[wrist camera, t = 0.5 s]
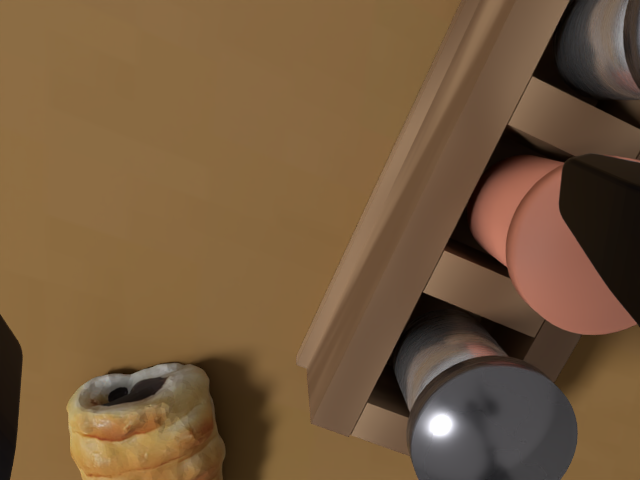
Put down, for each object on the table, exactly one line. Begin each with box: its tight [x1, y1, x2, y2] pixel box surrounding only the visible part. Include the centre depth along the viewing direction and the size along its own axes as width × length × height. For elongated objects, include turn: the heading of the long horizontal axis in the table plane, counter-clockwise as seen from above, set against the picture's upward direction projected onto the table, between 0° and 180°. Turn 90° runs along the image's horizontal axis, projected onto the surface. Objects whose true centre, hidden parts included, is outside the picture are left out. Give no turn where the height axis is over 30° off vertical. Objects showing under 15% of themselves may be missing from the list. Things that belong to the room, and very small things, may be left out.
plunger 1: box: [392, 309, 578, 480], centre depth 19 cm, size 5×5×6 cm
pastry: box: [67, 363, 226, 480], centre depth 25 cm, size 9×7×4 cm
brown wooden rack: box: [296, 0, 640, 456], centre depth 22 cm, size 9×21×5 cm, turn 156°
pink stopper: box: [467, 155, 640, 335], centre depth 18 cm, size 5×5×6 cm
